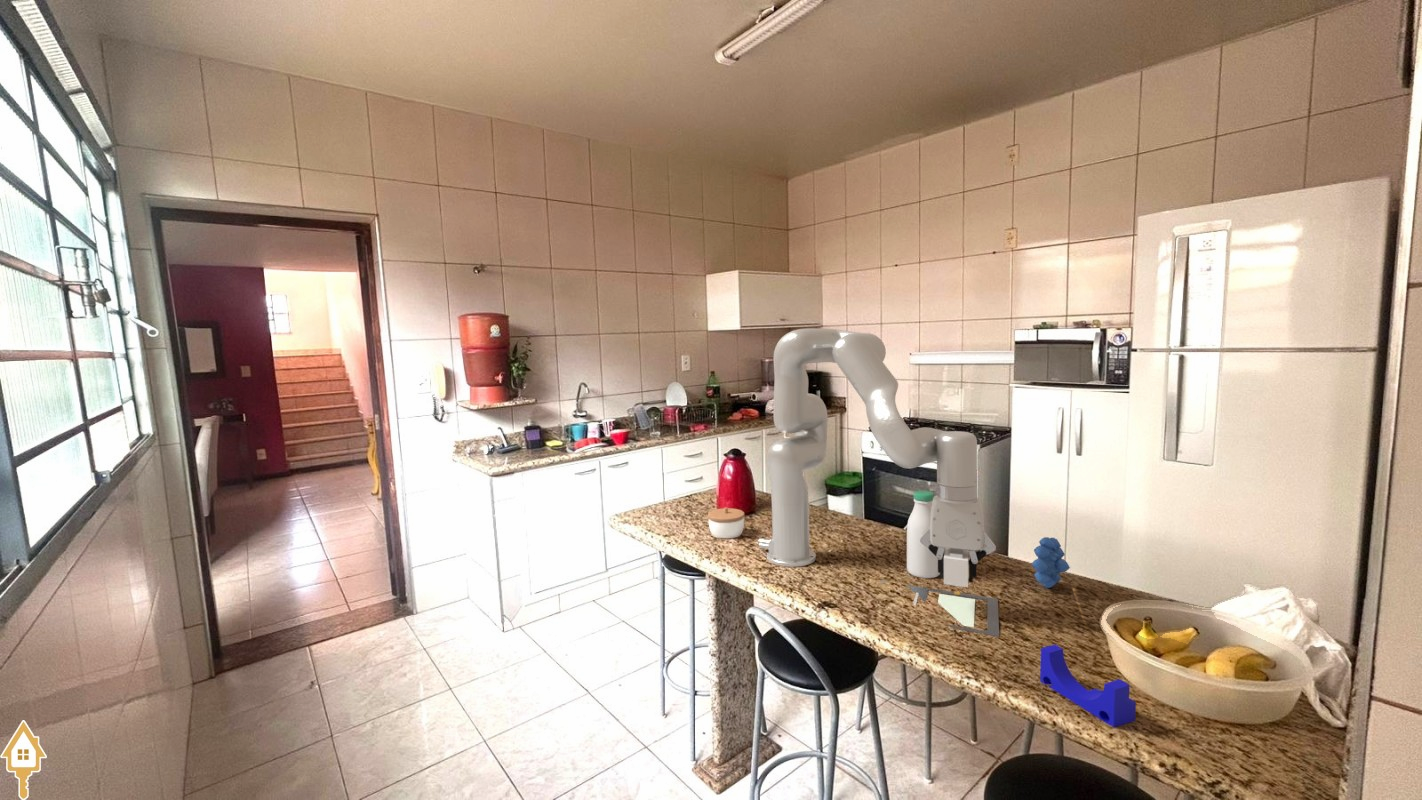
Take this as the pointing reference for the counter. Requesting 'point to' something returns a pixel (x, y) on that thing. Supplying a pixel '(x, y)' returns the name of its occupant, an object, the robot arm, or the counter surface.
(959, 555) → the plug
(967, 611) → the port pad
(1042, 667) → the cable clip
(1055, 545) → the grapes
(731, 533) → the lidded jar
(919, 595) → the two-window grey frame
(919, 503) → the milk bottle
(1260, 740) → the counter surface
